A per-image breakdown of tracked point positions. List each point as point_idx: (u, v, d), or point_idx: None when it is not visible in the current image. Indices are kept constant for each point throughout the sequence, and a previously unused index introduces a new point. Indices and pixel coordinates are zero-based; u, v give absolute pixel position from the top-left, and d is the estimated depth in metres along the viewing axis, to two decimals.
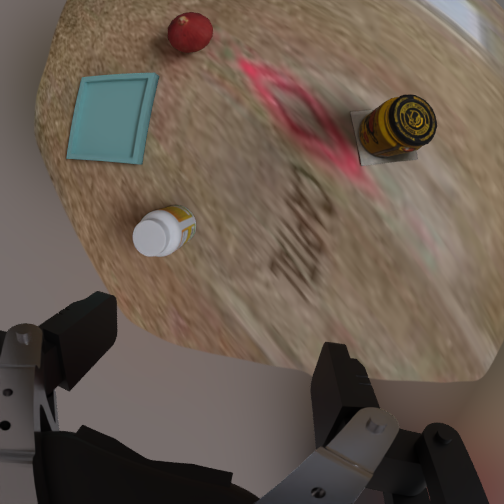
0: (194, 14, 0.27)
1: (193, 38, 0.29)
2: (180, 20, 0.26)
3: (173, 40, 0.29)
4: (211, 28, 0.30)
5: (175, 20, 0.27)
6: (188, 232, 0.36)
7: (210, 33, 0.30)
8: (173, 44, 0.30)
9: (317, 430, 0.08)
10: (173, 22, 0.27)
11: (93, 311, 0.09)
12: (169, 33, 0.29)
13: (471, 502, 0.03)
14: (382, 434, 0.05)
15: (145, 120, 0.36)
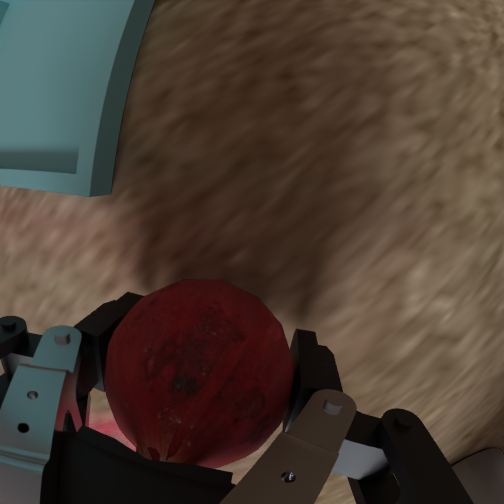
0: (234, 460, 0.07)
1: None
2: None
3: (112, 351, 0.07)
4: None
5: (182, 421, 0.05)
6: None
7: None
8: (118, 328, 0.08)
9: None
10: (178, 402, 0.06)
11: (127, 312, 0.10)
12: (144, 343, 0.07)
13: (444, 486, 0.04)
14: (337, 415, 0.06)
15: None
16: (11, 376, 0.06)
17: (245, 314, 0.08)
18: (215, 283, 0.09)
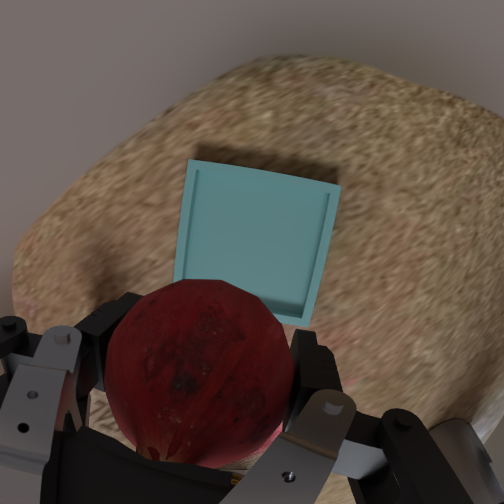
0: (234, 460, 0.07)
1: None
2: None
3: (113, 350, 0.07)
4: None
5: (182, 420, 0.05)
6: None
7: None
8: (118, 328, 0.08)
9: None
10: (178, 401, 0.06)
11: (127, 312, 0.10)
12: (144, 342, 0.07)
13: (443, 485, 0.04)
14: (337, 415, 0.06)
15: None
16: (11, 376, 0.06)
17: (245, 313, 0.08)
18: (215, 282, 0.08)
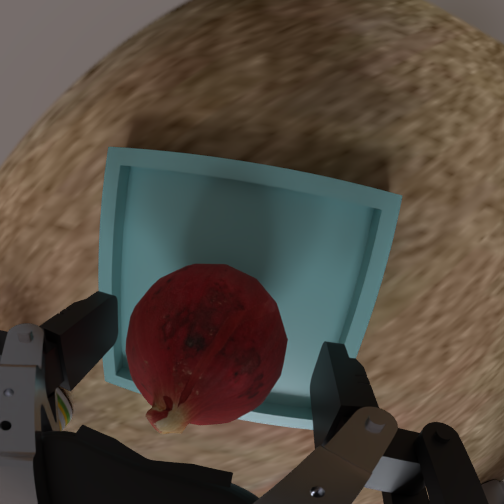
0: (234, 416, 0.08)
1: None
2: (155, 417, 0.07)
3: (135, 321, 0.09)
4: None
5: (192, 372, 0.07)
6: None
7: None
8: (139, 303, 0.10)
9: (316, 429, 0.08)
10: (190, 356, 0.08)
11: (94, 311, 0.09)
12: (162, 311, 0.08)
13: (471, 501, 0.03)
14: (380, 433, 0.05)
15: None
16: None
17: (245, 290, 0.09)
18: (221, 266, 0.10)
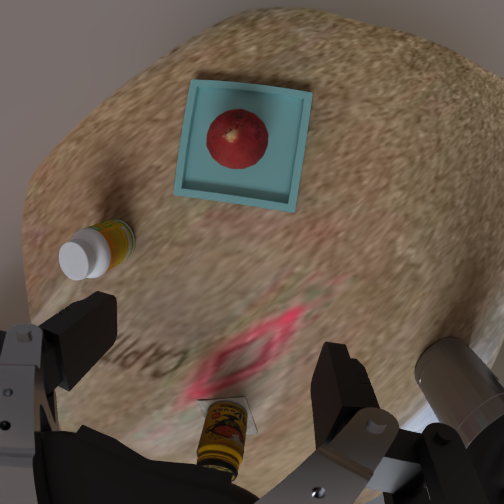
0: (250, 147, 0.25)
1: (211, 149, 0.26)
2: (227, 132, 0.23)
3: (214, 120, 0.25)
4: (238, 168, 0.28)
5: (238, 122, 0.24)
6: None
7: (229, 167, 0.27)
8: None
9: (317, 430, 0.08)
10: (237, 119, 0.24)
11: (93, 311, 0.09)
12: (226, 114, 0.25)
13: (471, 502, 0.03)
14: (382, 434, 0.05)
15: None
16: None
17: None
18: None
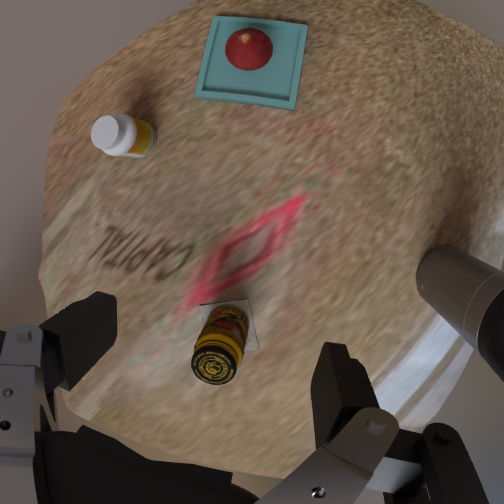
0: (259, 48, 0.28)
1: (229, 51, 0.29)
2: (241, 35, 0.27)
3: None
4: (249, 68, 0.31)
5: (250, 31, 0.27)
6: None
7: (242, 67, 0.31)
8: None
9: (317, 430, 0.08)
10: (249, 30, 0.27)
11: (93, 311, 0.09)
12: (241, 29, 0.28)
13: (471, 502, 0.03)
14: (382, 434, 0.05)
15: (240, 100, 0.35)
16: None
17: None
18: None
